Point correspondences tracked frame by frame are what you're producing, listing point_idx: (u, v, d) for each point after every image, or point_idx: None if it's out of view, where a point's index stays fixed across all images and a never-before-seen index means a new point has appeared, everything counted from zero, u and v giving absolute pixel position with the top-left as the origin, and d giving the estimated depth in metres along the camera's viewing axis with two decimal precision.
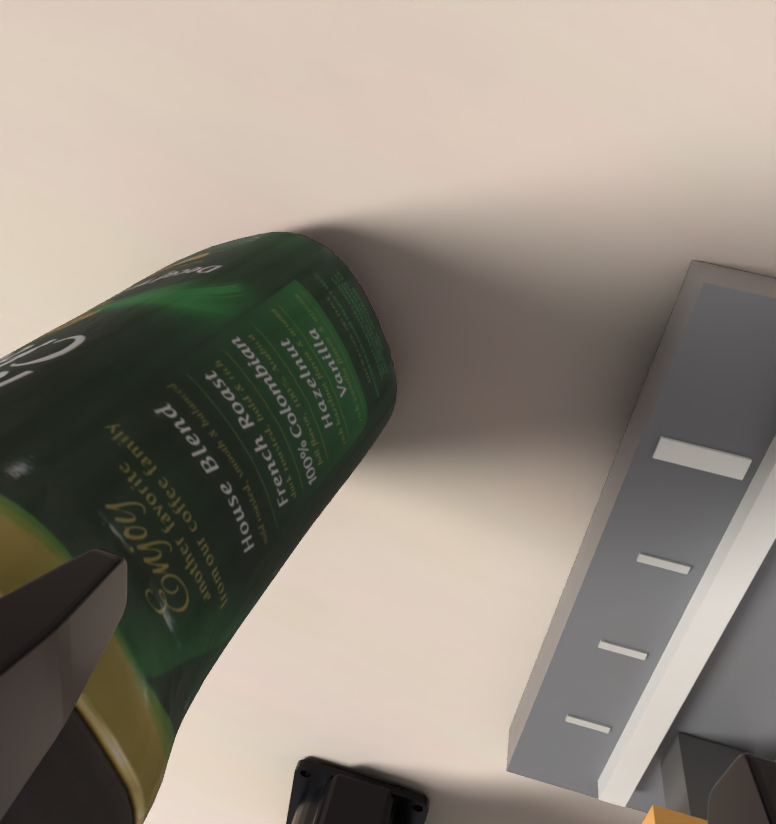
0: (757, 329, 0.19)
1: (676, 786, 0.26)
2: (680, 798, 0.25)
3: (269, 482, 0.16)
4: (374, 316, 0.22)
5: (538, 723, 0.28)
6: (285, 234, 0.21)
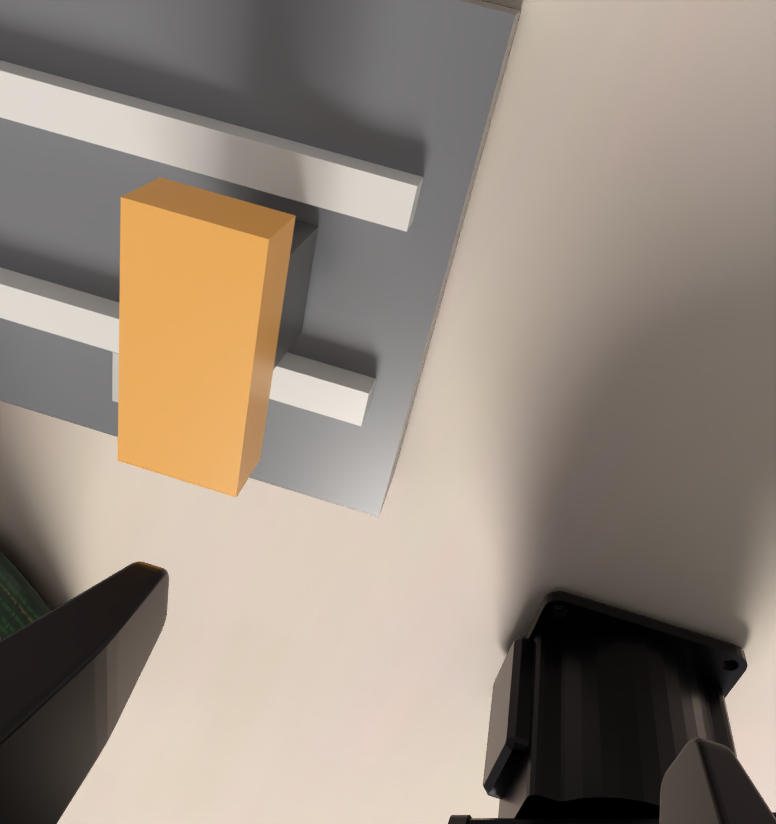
0: None
1: None
2: None
3: None
4: None
5: (274, 472, 0.21)
6: None
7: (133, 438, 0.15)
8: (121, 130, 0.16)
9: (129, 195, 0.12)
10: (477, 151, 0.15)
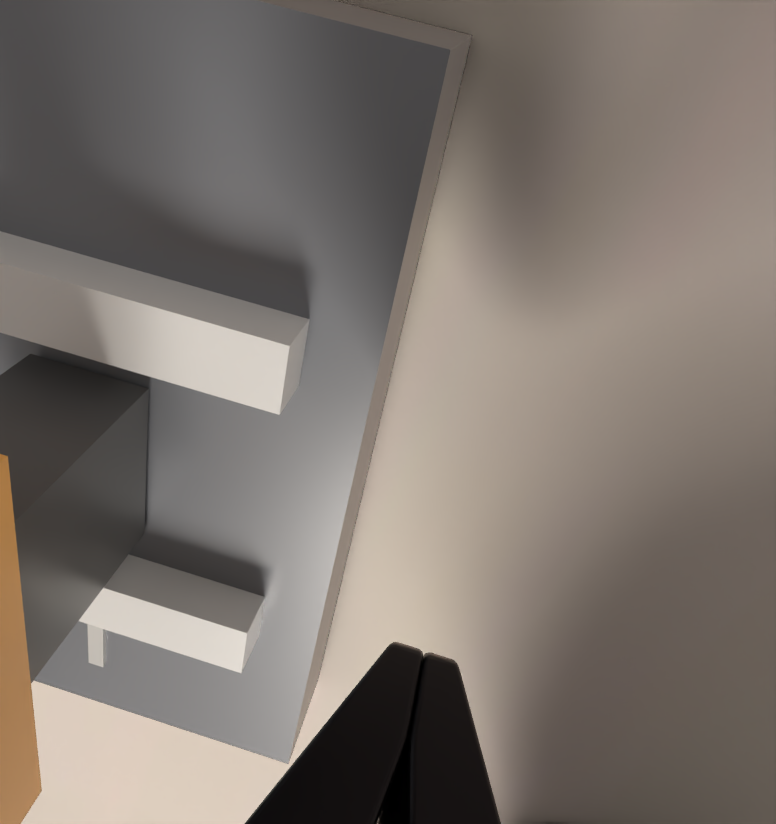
0: None
1: None
2: None
3: None
4: None
5: (135, 700, 0.14)
6: None
7: None
8: None
9: None
10: (396, 281, 0.09)
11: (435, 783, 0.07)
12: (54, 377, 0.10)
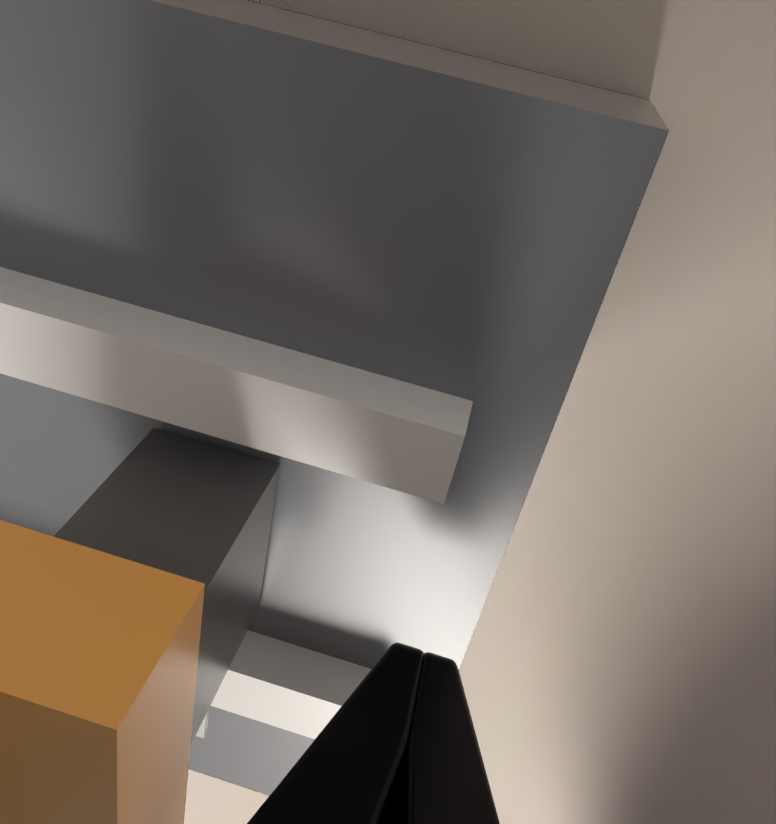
0: None
1: None
2: None
3: None
4: None
5: (233, 770, 0.14)
6: None
7: None
8: None
9: None
10: (575, 365, 0.08)
11: (434, 782, 0.07)
12: (182, 455, 0.10)
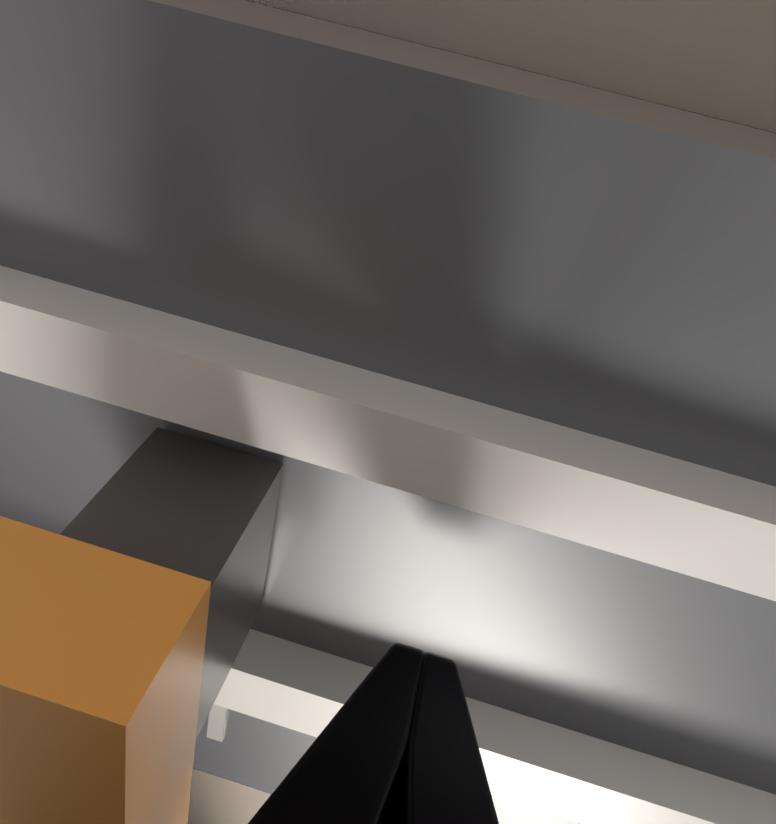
0: None
1: None
2: None
3: None
4: None
5: None
6: None
7: None
8: (602, 517, 0.08)
9: None
10: None
11: (432, 783, 0.07)
12: (187, 454, 0.10)
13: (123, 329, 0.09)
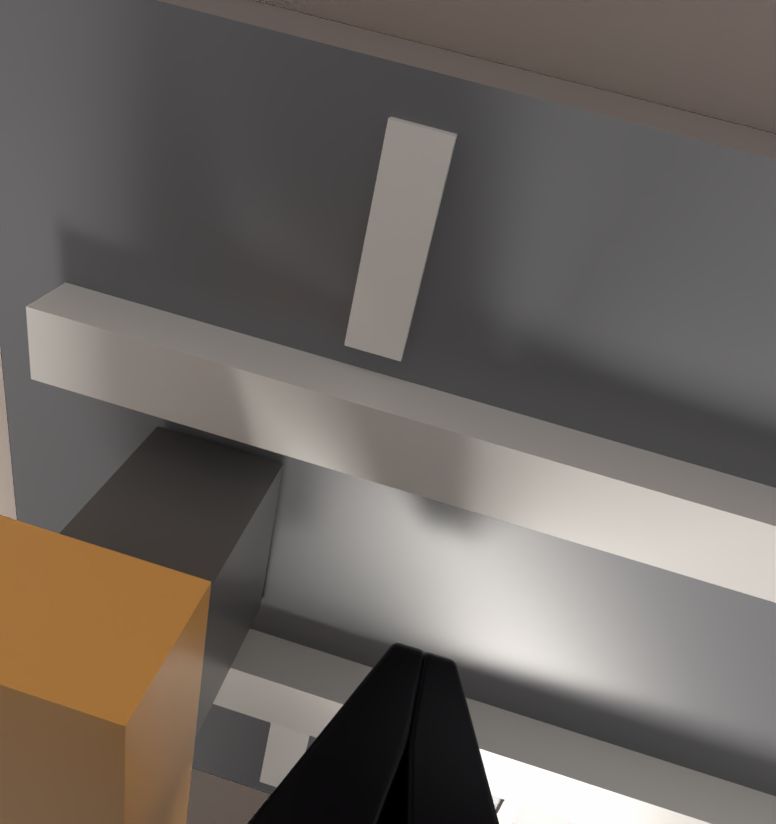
0: None
1: None
2: None
3: None
4: None
5: None
6: None
7: None
8: None
9: None
10: None
11: (433, 782, 0.07)
12: (186, 454, 0.10)
13: (569, 458, 0.08)
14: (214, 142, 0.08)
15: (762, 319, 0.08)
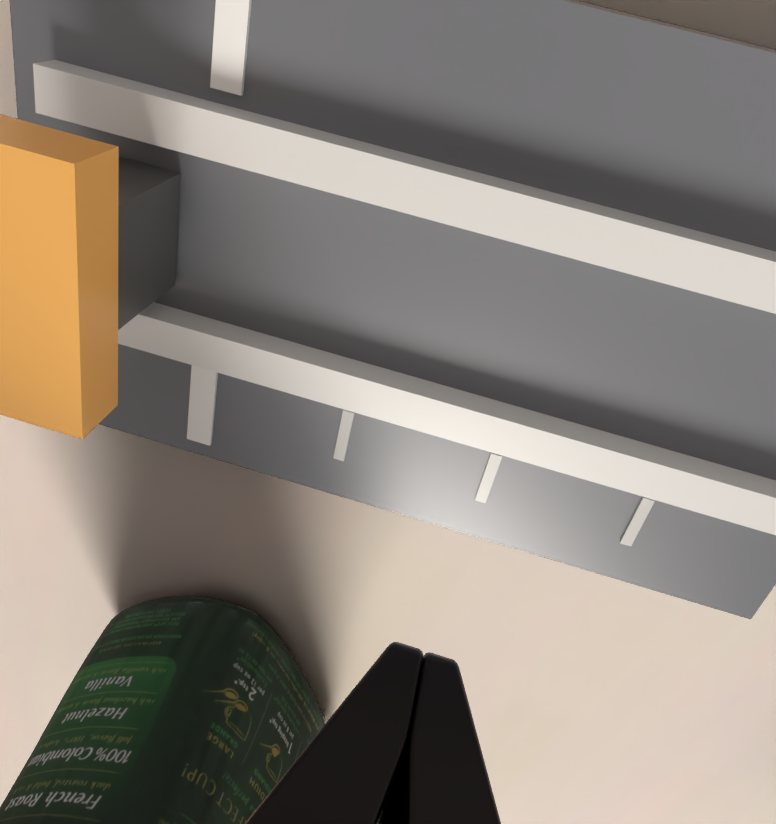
0: None
1: None
2: None
3: (69, 808, 0.20)
4: (153, 604, 0.27)
5: (641, 573, 0.20)
6: None
7: None
8: (598, 243, 0.15)
9: None
10: None
11: (435, 783, 0.07)
12: (122, 163, 0.17)
13: (328, 140, 0.15)
14: None
15: (419, 55, 0.15)
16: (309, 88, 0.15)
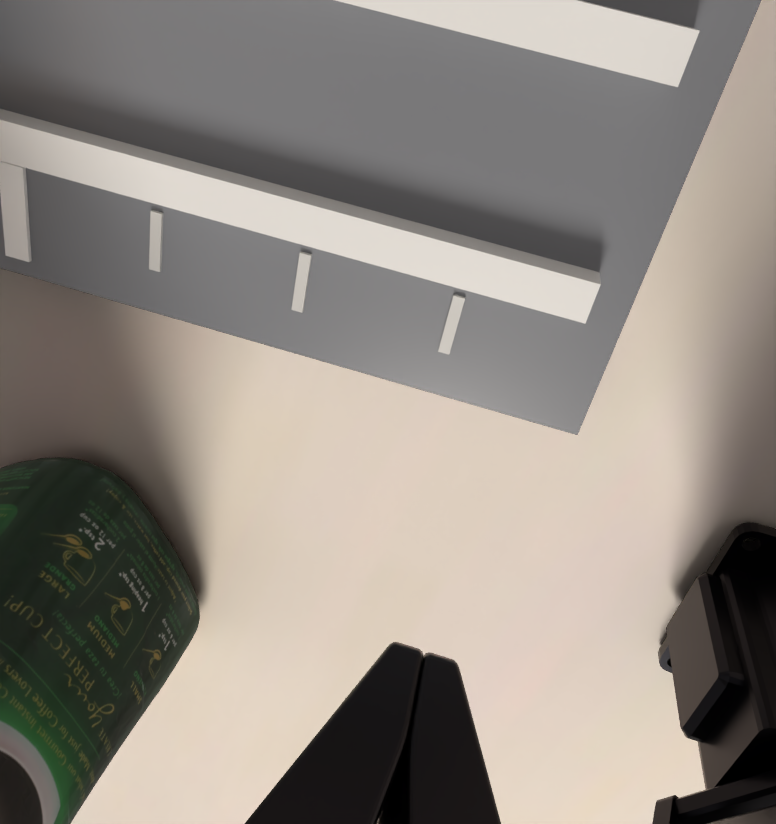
0: None
1: None
2: None
3: None
4: (12, 465, 0.26)
5: (464, 387, 0.19)
6: None
7: None
8: None
9: None
10: None
11: (435, 783, 0.07)
12: None
13: None
14: None
15: None
16: None
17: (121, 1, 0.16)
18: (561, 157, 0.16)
